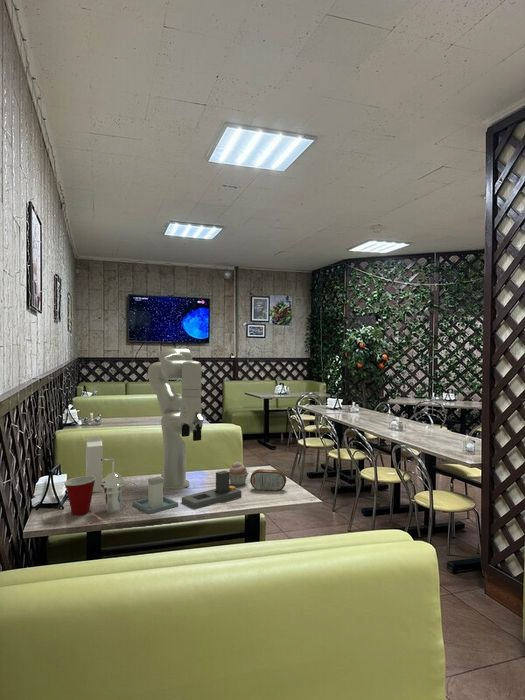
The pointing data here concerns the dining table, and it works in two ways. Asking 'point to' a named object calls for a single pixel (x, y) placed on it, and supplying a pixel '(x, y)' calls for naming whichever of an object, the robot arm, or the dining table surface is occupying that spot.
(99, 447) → the milk
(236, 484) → the cupcake
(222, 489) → the black plug
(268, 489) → the brown oval speaker
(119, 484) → the cup with straw
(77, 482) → the plastic cup
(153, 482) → the plug
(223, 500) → the power strip
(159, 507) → the tray
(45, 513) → the dining table surface
